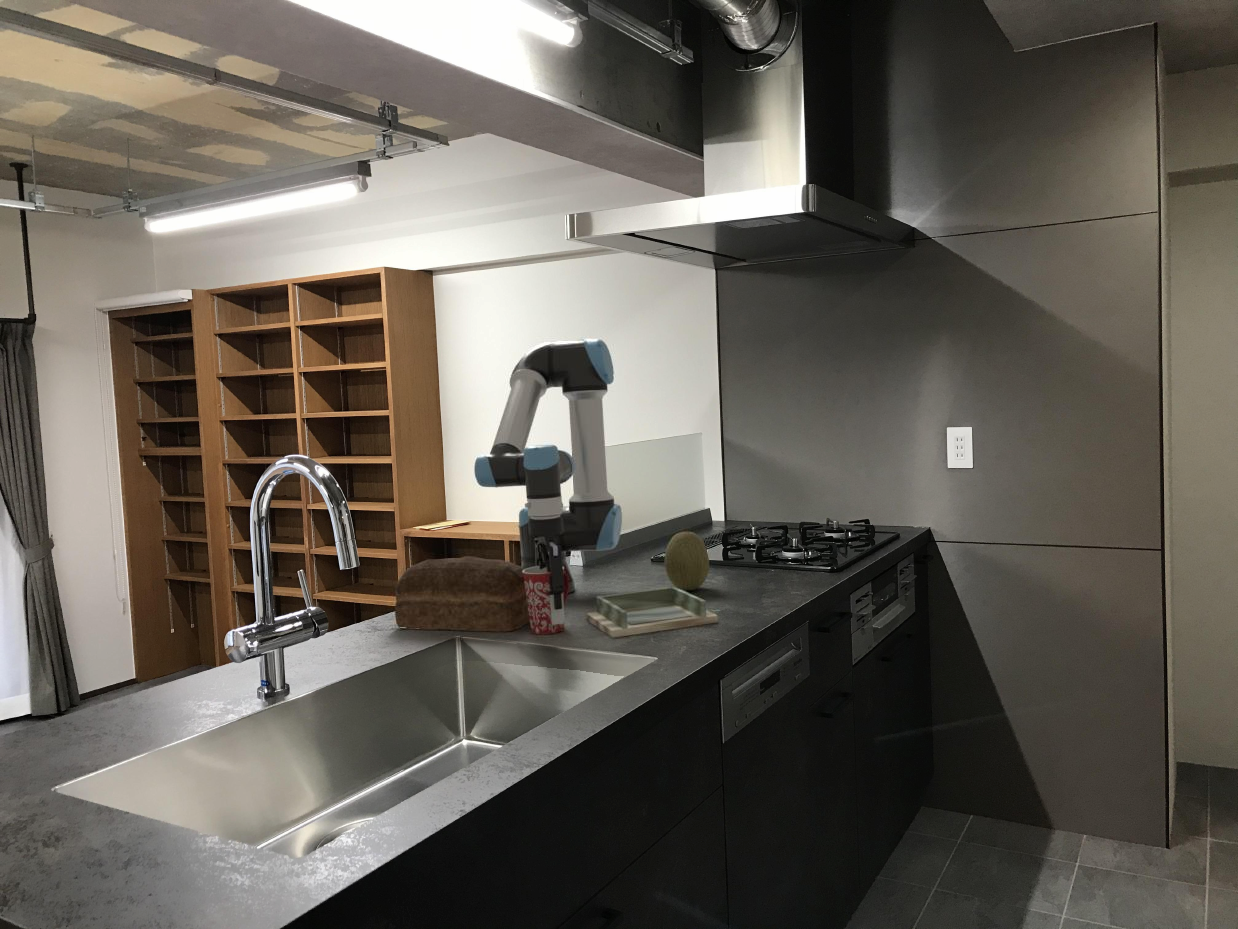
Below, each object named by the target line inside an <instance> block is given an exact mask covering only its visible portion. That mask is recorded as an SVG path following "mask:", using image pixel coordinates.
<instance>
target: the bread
mask: <svg viewBox="0 0 1238 929" xmlns="http://www.w3.org/2000/svg"><path fill="white" fill-rule="evenodd" d="M523 570H524V568H522V567H521V566H520V565H518V564H516V563H513V562H511V561H507V560H503V559H488V558H481V557H478V556H470V555H466V556H462V557H461V556H460V557H450V558H440V559H439V558H438V559H436V558H435V559H432V558H428V559H426V560H423V561H421V562H418V563H416V564H414V565H412V566H410V567H409V568H407V569H406V570H405V571H404V572H403V573H402V575H401V577H400V578H399V579H398V581H397V582H396V586H395V589H394V590H395V591H394V594H395V595H394V596H395V606H394V615H395V617H394V618H395V624H396V625H397V626H398V628H399V627H406V628H419V629H418V630H437V629H451V630H454V631H468V632H469V631H474V632H475V631H479V632H480V631H481V632H512V631H515V630H517V629H520V627H523V626H524V625H526V624H529V623H530V618H529V612H528V604H527V596H526V590H525V582H524V575H523V573H522V571H523Z"/></svg>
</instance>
